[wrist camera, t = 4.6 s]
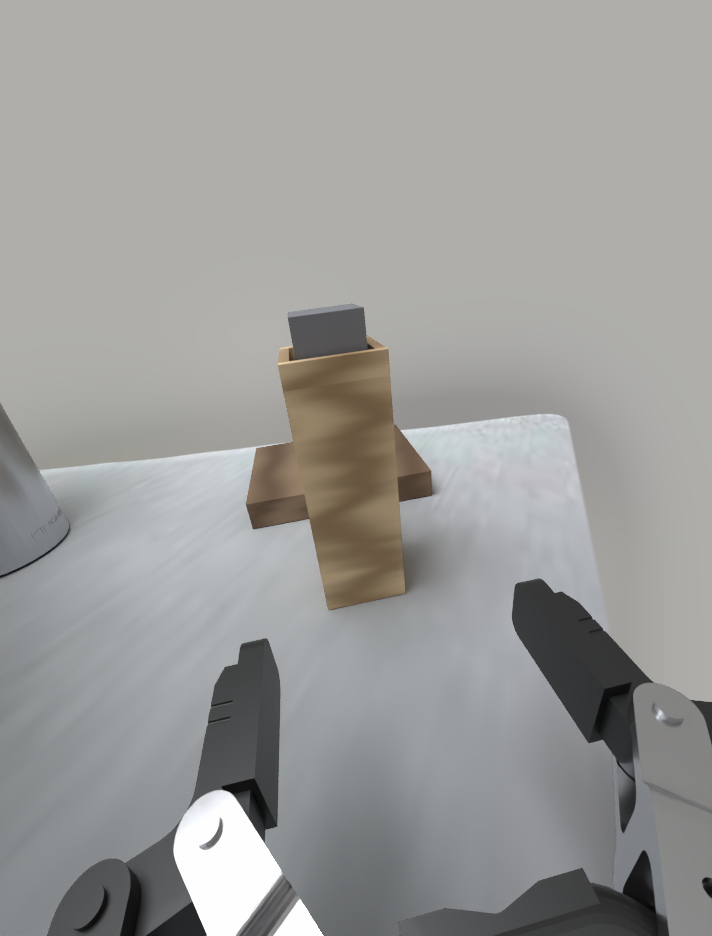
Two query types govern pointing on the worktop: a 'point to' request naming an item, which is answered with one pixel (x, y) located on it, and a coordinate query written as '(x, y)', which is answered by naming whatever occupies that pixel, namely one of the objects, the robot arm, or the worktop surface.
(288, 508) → the block
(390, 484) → the wooden square tube
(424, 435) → the worktop surface
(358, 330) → the block
